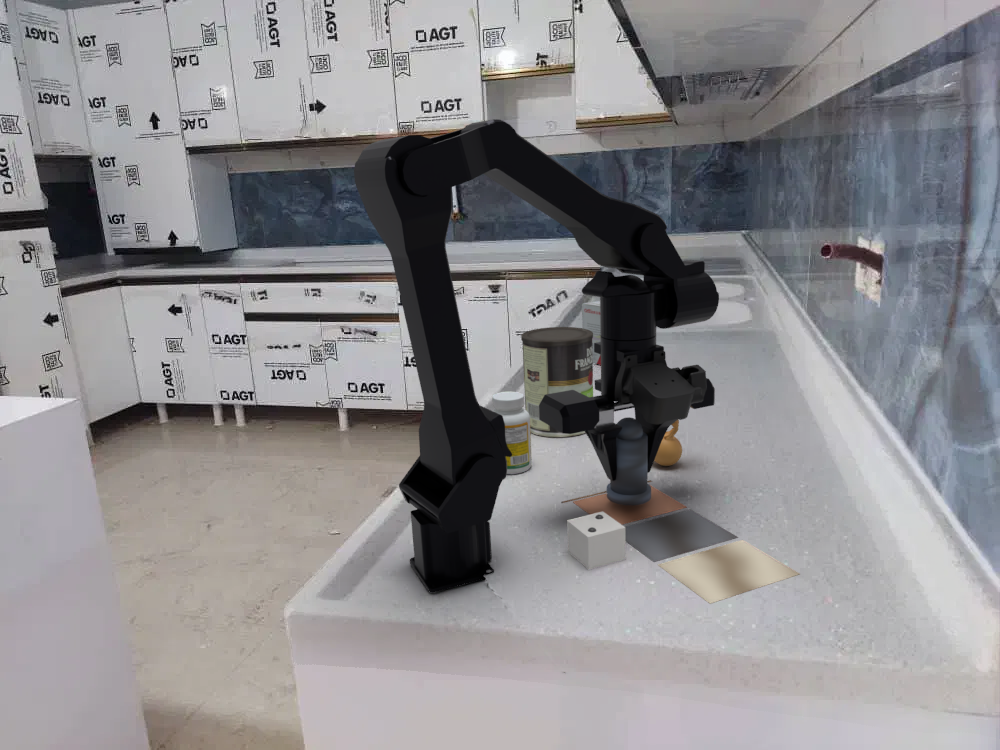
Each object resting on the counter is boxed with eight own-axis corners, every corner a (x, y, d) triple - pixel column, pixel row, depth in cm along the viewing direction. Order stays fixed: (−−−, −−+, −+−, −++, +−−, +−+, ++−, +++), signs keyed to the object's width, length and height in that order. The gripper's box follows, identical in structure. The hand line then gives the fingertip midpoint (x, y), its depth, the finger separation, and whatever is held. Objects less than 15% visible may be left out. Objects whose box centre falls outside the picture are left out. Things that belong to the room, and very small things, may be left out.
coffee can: (603, 418, 113) (602, 327, 109) (581, 441, 104) (579, 342, 100) (540, 413, 117) (537, 325, 114) (513, 434, 108) (509, 339, 105)
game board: (706, 617, 62) (706, 611, 61) (561, 505, 84) (561, 500, 84) (815, 581, 66) (815, 575, 66) (650, 484, 88) (650, 479, 88)
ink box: (630, 364, 144) (630, 304, 141) (611, 368, 141) (611, 307, 138) (600, 357, 151) (599, 299, 148) (582, 361, 148) (580, 302, 145)
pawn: (622, 508, 79) (621, 428, 76) (598, 492, 83) (597, 415, 80) (660, 499, 80) (660, 420, 78) (634, 484, 85) (634, 408, 82)
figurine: (651, 452, 98) (652, 364, 95) (698, 454, 97) (700, 365, 94) (647, 476, 91) (647, 381, 88) (698, 479, 89) (700, 382, 86)
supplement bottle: (523, 477, 92) (520, 403, 90) (483, 472, 94) (479, 400, 92) (537, 461, 97) (535, 391, 95) (499, 457, 99) (496, 388, 97)
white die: (589, 576, 69) (588, 534, 68) (568, 557, 73) (566, 517, 71) (625, 565, 70) (625, 524, 69) (603, 548, 74) (602, 509, 73)
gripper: (590, 363, 66) (592, 523, 70) (753, 337, 73) (747, 483, 77) (534, 341, 76) (539, 483, 80) (683, 320, 83) (681, 451, 87)
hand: (628, 475), depth 81 cm, fingers closed on pawn, 4 cm apart
